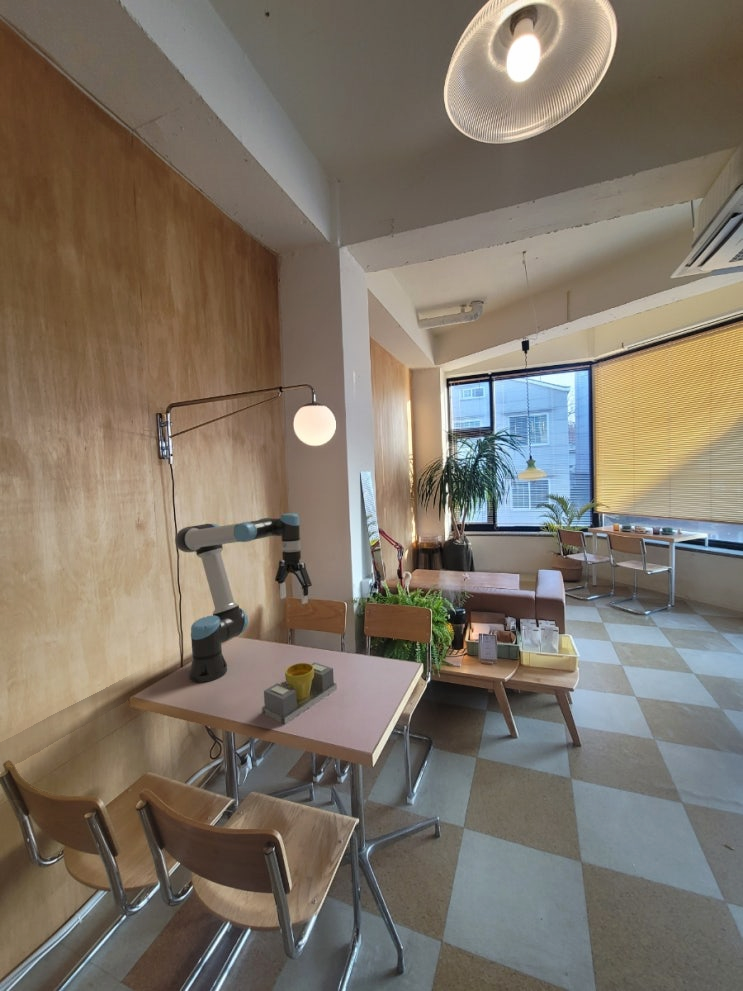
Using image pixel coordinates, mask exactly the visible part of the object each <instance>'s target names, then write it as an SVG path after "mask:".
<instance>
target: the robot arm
mask: <svg viewBox="0 0 743 991" xmlns="http://www.w3.org/2000/svg"><path fill="white" fill-rule="evenodd" d="M300 525H301V524H300V518H299V514H298V513H296V512H295V513H293V512H292V513H282V514H280V518H277V517H275V518H274V517H273V518H272V517H265V518H264V517H263V518H260V519H258V520H251V521H244V522H240V523H238V522H237V523H233V524H225V525H220V526H219V525H218V524H217V523H204V524H197V525H191V526H186V527H183V528H181V529H180V530H178V531H177V533H176V535H175V539H174V543H175V545H176V547H177V549H178V550H180V551H181V552H184V553H195V554H196V556H197V557H198V558H200V559H201V562H202V566H203V570H204V573H205V577H206V580H207V584H208V587H209V592H210V595H211V599H212V602H213V603H212V604H213V606H214V610H213V611H212V615H207V616H203V617H201V618H198V619H197V620H195V621H194V622H193V623H192V624H191V627H190V640H191V651H192V652H191V653H192V655H191V656H192V659H191V660H192V661H191V663H190V664H191V665H190V667H189V671H188V678H190V679H189V680H190V681H191V680H192V681H191V682H193V681H195V682H194V683H205V681H207V682H211V680H212V681H214V680H217V679H219V678H221V677H223V676H224V675H225V674H226V673H227V672H228V664H227V661H226V660H225V657H224V655H223V652H222V644H224V643H226V642H227V641H229V640H231V639H233V638H236V637H239V636H240V634H243V633H244V632H245V631H246V630H247V627H248V624H249V618H248V614H247V612H246V611H245V609H243V608H240V606H239V604H238V603H237V602H235V600H234V597H233V596H234V595H233V593H232V588H231V586H230V582H229V580H228V579H229V578H228V575H227V572H226V571H227V570H226V568H225V564H224V561H223V557H222V552H223V550H224V547H223V545H225V544H227V545H228V544H233V543H234V544H235V543H247V542H248V543H249V542H251V541H255V540H260V539H263V538H269V537H281V550H282V553H281V555H282V560H279V562H278V568H277V571H276V575H275V578H274V581H275V582H277V583H278V590H279V598H280V600H283V599H285V598H287V588H286V586H287V585H286V579H287V578H288V575H289V574H293V575H294V576H295V577H296V578H297V580H298V582H299V584H300V585H301V588H300V593H301V594H300V596H301V598H300V600H301V604H302V605H305V604H308V603H309V598H308V597H309V587H312V586H313V585H312V580H311V579H310V576H309V573H308V570H307V569H306V566H307V565H306V563H305V562H301V563H300V560H301V559H302V555H301V547H302V546H301V536H300V535H301V534H300Z"/></svg>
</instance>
